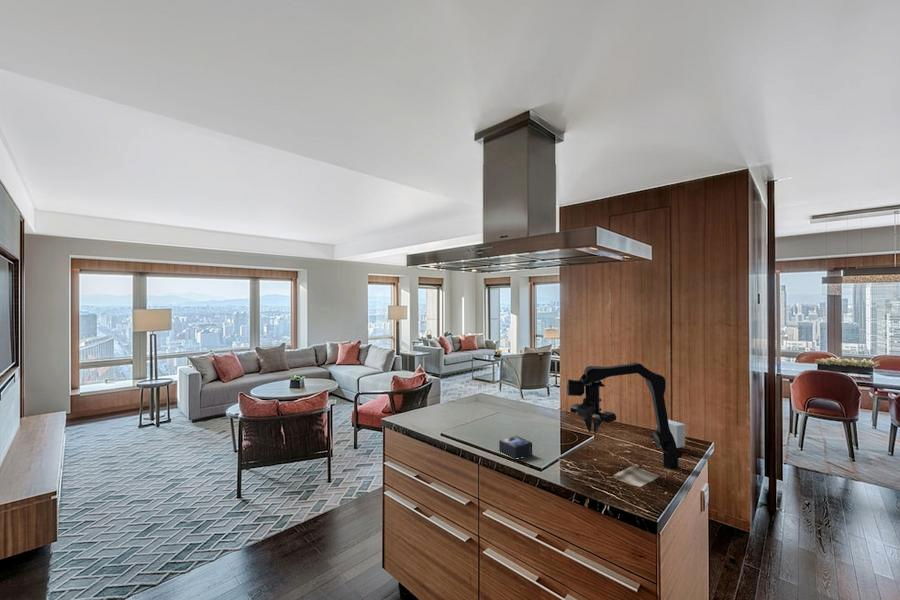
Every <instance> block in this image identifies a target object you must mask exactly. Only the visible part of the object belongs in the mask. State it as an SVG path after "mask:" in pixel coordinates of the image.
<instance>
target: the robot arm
mask: <svg viewBox="0 0 900 600" xmlns="http://www.w3.org/2000/svg"><path fill="white" fill-rule="evenodd" d="M634 374H638V375H639V376H640V377H642V378H643V379H644V380H645V383H646V385H647V388H648V390H649V392H650V393H651V398H652V404H653V411H654V415H655V422H656V423H655V424H656V430H652V435H653V441H654V442H655V443H656V445H657V446H658V447H659V448H660V450H662V465H663V468H666V469H668V470H672V469H673V470H674V469H679V468H680V469H683V467H681V466H680V459H682V458H683V452H682V451H681V450H680V449H679V448H677V447H676V443H675V440H674V437H673V435H672V433H671V431H670V429H669V424H668V420H669V417H668V413H667V407H666V401H665V400H666V399H665V392H666V388H667V387H666V386H667V385H666V384H667V381H666V378H665V377H664V375H661V374H659V373H657V372H655V371H651V370H650V369H648V368H647V367H645V366H644V365H643V364H642V363H640V362H638V361H637V362H633V363H627V364H626V363H625V364H617V365H610V366H599V365H589V366H586V367H585V368H584V371H583V373H582V375H581V376H580V377H579V379H571V378H570V379H567V383H566V393H567V396H573V397H574V396H575V397H582V396H583V395H584V397H585V398H583V399H582V403H576V404H572V405H570V407H569V408H570V409H569V410H570V413H573V414H577V416H579V417H580V418H582V419H583V421H584V423H585V426H586V428H587V431H588V432H589V433H590V432H592V426H593V433H594V434H597V433H598V431H599V429H600V426H601V425H602V424H603V422H604V423H612V422H615V421H617V415H616V414H615V413H614V412H612V411H611V412H610V411H607V410H606V411H603V412H601V411H602V408H601V407H600V402H602V398H600V388H601V387H602V388H604V387H605V384H604V383H603V382H602V380H605V379H607V378H610V377H618V376H624V375H634ZM593 416H594V418H593ZM592 424H593V425H592Z"/></svg>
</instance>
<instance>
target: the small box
mask: <svg viewBox="0 0 900 600" xmlns="http://www.w3.org/2000/svg"><path fill="white" fill-rule="evenodd" d="M498 443H499V444H498V445H499V446H498V447H499V451H500V452H502V453H504V454H506V455H508V456H510V457H512V458H514V459H516V458H521V457H526V458H529V457H528V456H530V457H532V456H533V442H531V441H530V440H527V439H525V438H523V437H520V436H518V435H514V436H510V437H507V438H504V439H500V440H499V441H498Z"/></svg>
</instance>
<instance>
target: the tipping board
mask: <svg viewBox="0 0 900 600" xmlns="http://www.w3.org/2000/svg"><path fill="white" fill-rule="evenodd" d="M660 477H661V476H660V475H658V474H657V473H654V472H651V471H649V470H645V469H643V468H640V467H639V464H636V463H634V464H632V465H630V466H629V467H627V468H624V469H623V470H621V471H618V472H616V473H614V474H613V479H615V480H617V481H620V482H623V483H625V484H628V485H632V486H634V487H639V488H640V487H643V486H646V485H647V484H650V483H651V482H653V481H655V480H656V479H658V478H660Z"/></svg>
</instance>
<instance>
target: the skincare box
mask: <svg viewBox="0 0 900 600" xmlns="http://www.w3.org/2000/svg"><path fill="white" fill-rule="evenodd" d="M668 424H669V429H670V431H671V433H672V435H673V437H674V440H675V443H676V447H677V448H678V449H679V448H683V447H686V424H685V423H682V422H679V421H674V420H672V419H668Z"/></svg>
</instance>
